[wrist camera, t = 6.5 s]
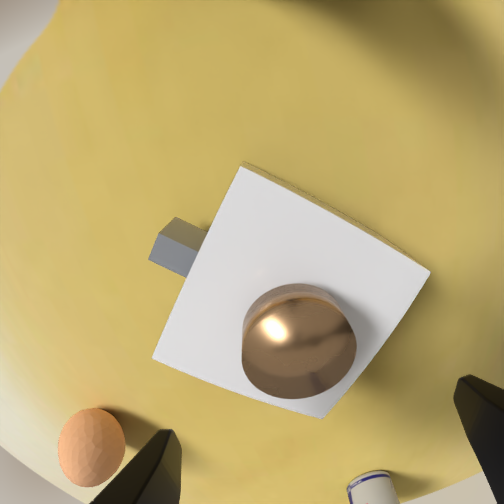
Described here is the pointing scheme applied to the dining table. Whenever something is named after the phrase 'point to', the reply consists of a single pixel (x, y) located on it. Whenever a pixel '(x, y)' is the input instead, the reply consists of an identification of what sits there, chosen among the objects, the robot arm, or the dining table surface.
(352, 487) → the energy drink
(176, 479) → the robot arm
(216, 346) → the white box with hole
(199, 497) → the dining table surface
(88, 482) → the egg
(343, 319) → the plunger
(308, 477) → the dining table surface
